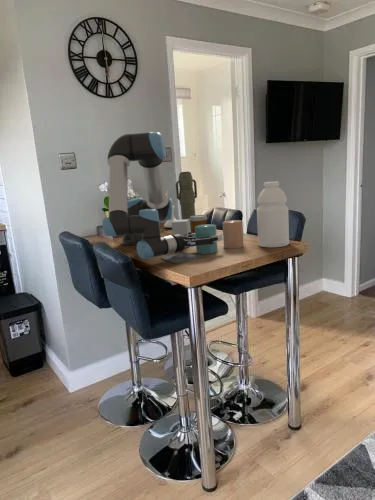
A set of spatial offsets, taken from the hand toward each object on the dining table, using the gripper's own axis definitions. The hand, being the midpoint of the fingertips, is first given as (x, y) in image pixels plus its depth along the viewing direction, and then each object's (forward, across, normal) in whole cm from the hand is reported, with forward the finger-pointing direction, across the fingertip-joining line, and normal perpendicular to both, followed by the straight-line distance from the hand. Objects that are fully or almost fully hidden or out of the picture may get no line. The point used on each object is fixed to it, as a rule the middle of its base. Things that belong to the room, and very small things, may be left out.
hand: (212, 235), depth 174 cm
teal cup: (-4, 0, -6) cm, 7 cm away
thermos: (+21, -46, -7) cm, 51 cm away
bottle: (+23, +15, -7) cm, 28 cm away
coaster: (-19, +1, -6) cm, 20 cm away
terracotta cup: (+11, +2, -6) cm, 13 cm away
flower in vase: (+29, -77, -7) cm, 82 cm away
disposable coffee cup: (+14, -29, -7) cm, 33 cm away
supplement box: (-3, -20, -7) cm, 21 cm away
